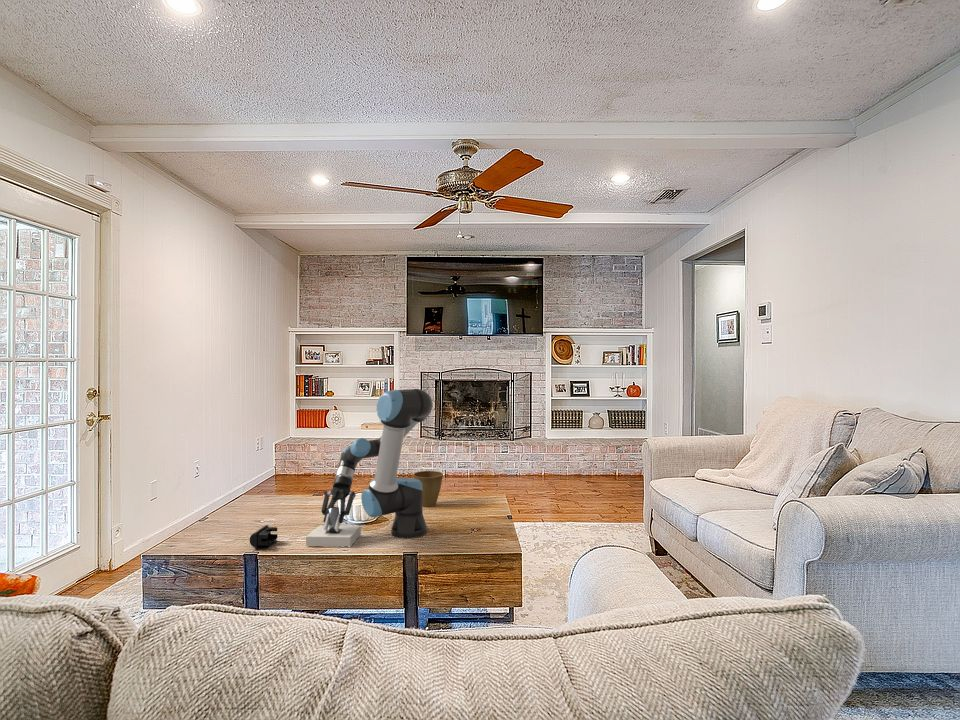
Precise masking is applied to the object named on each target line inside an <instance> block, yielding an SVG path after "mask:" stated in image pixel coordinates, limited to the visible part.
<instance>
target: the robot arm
mask: <svg viewBox="0 0 960 720" xmlns="http://www.w3.org/2000/svg"><path fill="white" fill-rule="evenodd" d="M432 410H433V401H432V397H431V396H430V394H429V393H428V392H426V391H425V390H423V389H420V388H411V389H410V388H409V389H392V390H387V391H384V392H383V393H382V394H381V395H380V396H379V398H378V400H377V403H376V412H377V413H376V414H377V417H378V419H379V421H380V423H381V424H382V426H383V427H382V433H381V436H380V437H379V438H378V439H377V438H376V439H370V440H368V439H367V438H363V437H360V438H357V439H355V441H353V442H352V443H351V445H350V446H345V447H344V448H343V449H342V452H341V454H340V458H339V463H338V466H337V469H336V474H335V476H334V482H333V484H332V488H331V489H330V490H329V491H324V492H323V494H324V498H323V502H322V506H321V510H320V512H321V514H322V515H323V516H324V517H323V520H322V521H323V522H324V523H323V524H324V525H323V526H324V528H323V529H324V530H325V532H327V530H328V526H329V508H330V507H335V505H336V503H337V502H338V501H340V508H339V514H338V517H337V521H336V525H335V530H336V532H338V530H339V526H341V524H343V522H344V517H345V516H349V515H350V512H351V509H352V505H353V501H354V499H355V497H356V496H357V495H356V492H355V491H351V488H352V484H353V480H354V476H355V472H356V468H357V465H358V464H359V463H360V462H361V461H362V460H364V459H369V458H374V457H375V458H376V457H377V463H376V467H375V474H374V477H373V478H372V479H371V480H370V481H369V485H368V488H365V489H364V490H362V493H361V496H360V497H361V499H360V500H361V504H362V507H363V510H364V512H365V513H366V515H367V516H369V517H370V518H378V517H383V516H386V515H390V514H394V518H393V521H392V522H393V523H392V525H391V528H390V530H391V536H392V537H394V538H397V539H398V538H399V539H414V538H419V537H422V536H425V535H426V534H427V532H428V526H427V522H426V521H425V520H426V519H425V518H424V517H425V516H424V514H423V508H424V507H422V491H423V489H422V482H421V481H420V480H418V479H414V477H411V478H410V477H397V475H398V470H399V466H400V465H399V464H400V458H401V453H402V450H403V449H402V448H403V443H404V438H405V437H406V436H407V435H408V434H409V433H410V431H412V430H413V429H414V428H415V427H416V426H417V425H418V424H419V423H423V422H424V421H426V419H427V418H428V417H429V415H431V413H432ZM331 495H332V496H331ZM348 496H349V497H348ZM330 497H331V500H330ZM347 497H348V500H347V503H346V498H347Z"/></svg>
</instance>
